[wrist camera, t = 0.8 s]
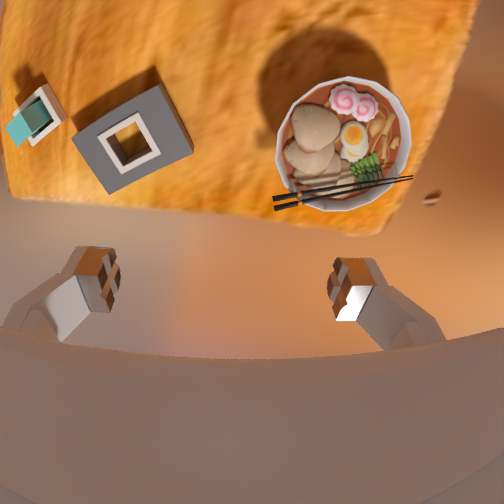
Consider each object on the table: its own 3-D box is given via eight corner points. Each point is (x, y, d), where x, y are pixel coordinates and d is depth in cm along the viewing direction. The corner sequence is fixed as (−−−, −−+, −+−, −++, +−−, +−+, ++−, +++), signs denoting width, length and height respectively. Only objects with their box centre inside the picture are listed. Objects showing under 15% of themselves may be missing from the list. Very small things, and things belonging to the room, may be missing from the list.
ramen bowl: (395, 68, 36) (424, 79, 30) (389, 179, 51) (410, 203, 46) (247, 76, 36) (255, 85, 30) (268, 200, 52) (277, 228, 46)
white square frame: (20, 109, 31) (12, 113, 29) (48, 83, 30) (40, 86, 28) (39, 140, 36) (32, 146, 34) (67, 117, 35) (61, 122, 33)
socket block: (78, 131, 37) (70, 139, 35) (161, 82, 35) (157, 85, 32) (113, 185, 45) (108, 195, 43) (194, 146, 43) (193, 154, 40)
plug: (30, 110, 32) (4, 127, 26) (45, 97, 31) (19, 112, 25) (40, 127, 34) (17, 147, 29) (56, 115, 34) (32, 132, 28)
